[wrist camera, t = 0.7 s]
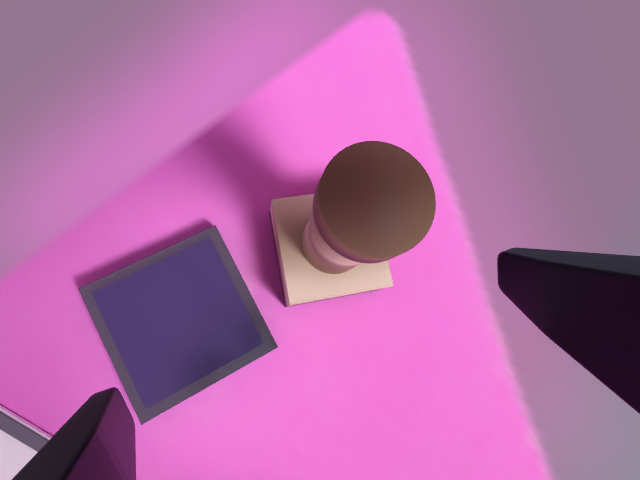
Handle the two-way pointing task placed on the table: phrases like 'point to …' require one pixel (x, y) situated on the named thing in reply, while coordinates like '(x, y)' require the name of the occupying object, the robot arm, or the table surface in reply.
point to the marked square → (17, 443)
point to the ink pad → (177, 322)
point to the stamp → (351, 223)
